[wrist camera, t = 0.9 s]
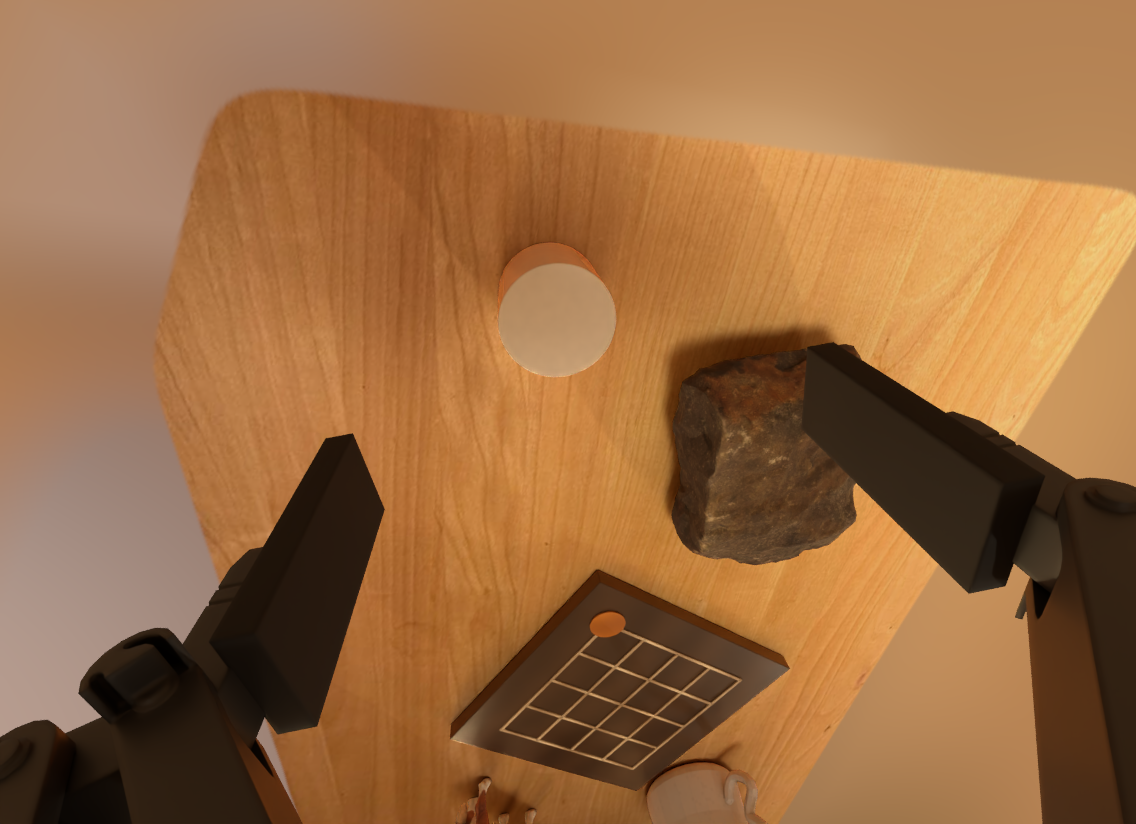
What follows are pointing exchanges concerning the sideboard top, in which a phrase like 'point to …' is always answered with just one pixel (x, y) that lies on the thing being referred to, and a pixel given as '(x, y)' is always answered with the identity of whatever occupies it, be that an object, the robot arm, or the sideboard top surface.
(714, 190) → the sideboard top surface
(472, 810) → the bull figurine
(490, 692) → the grid board
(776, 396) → the stone
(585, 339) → the white short cylinder
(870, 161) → the sideboard top surface
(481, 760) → the sideboard top surface
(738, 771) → the mug
